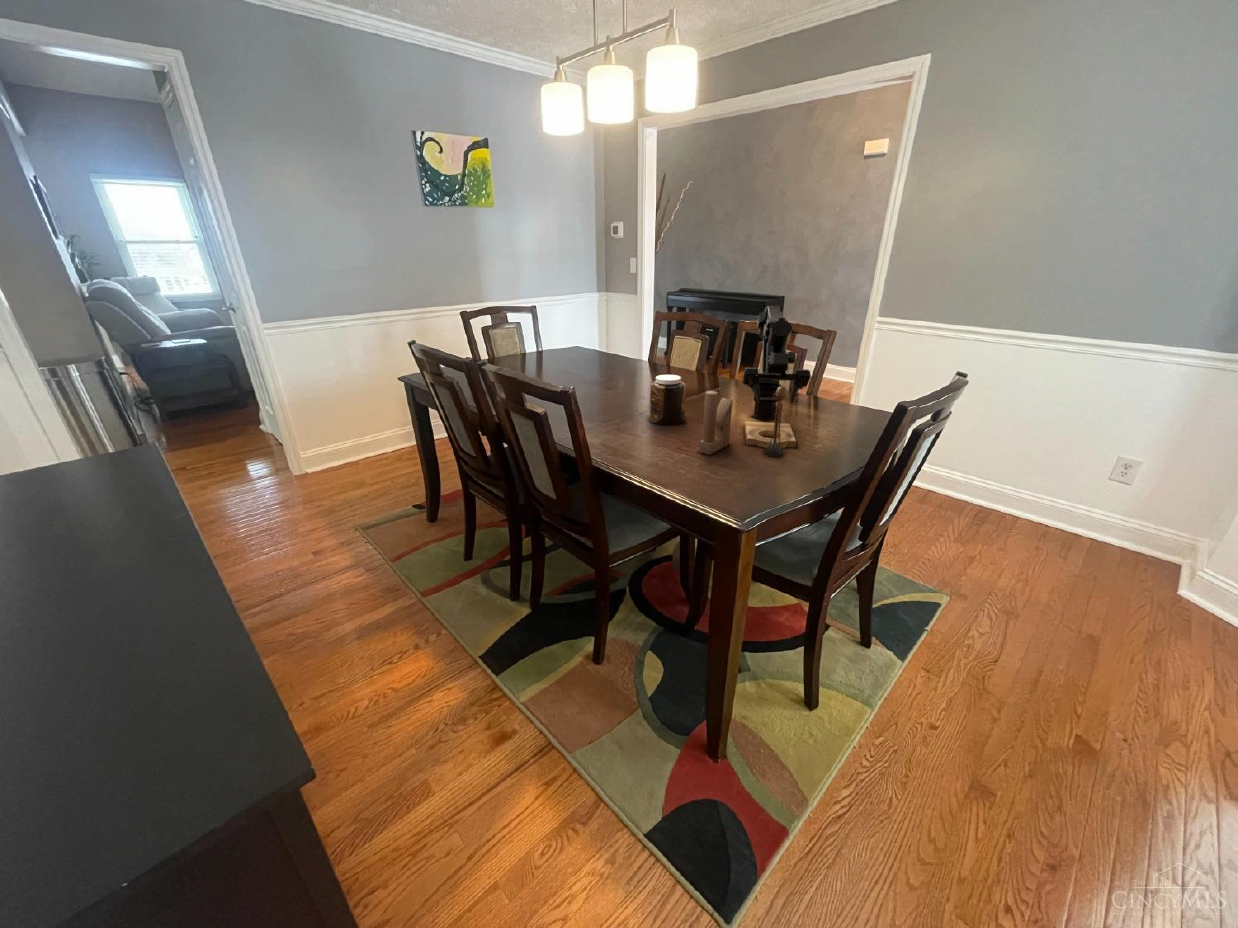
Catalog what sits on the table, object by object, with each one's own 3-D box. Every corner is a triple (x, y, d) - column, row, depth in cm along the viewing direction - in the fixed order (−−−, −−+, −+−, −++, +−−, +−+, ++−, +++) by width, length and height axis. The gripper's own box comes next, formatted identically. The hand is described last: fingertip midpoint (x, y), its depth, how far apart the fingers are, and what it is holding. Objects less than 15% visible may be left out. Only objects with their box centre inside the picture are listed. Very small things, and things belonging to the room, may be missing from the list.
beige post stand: (729, 445, 148) (734, 387, 141) (709, 455, 141) (713, 394, 134) (718, 442, 150) (722, 384, 143) (698, 452, 143) (702, 392, 136)
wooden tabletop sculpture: (774, 459, 138) (782, 390, 130) (759, 454, 141) (767, 387, 133) (785, 453, 142) (794, 386, 133) (770, 449, 145) (779, 383, 137)
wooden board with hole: (744, 427, 163) (745, 421, 162) (788, 429, 160) (789, 423, 159) (747, 446, 147) (747, 440, 146) (795, 449, 144) (796, 443, 144)
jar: (666, 427, 163) (667, 383, 157) (643, 419, 171) (643, 377, 165) (691, 420, 170) (693, 377, 163) (667, 412, 178) (668, 371, 172)
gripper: (747, 340, 142) (745, 387, 137) (814, 341, 139) (815, 389, 134) (743, 361, 153) (741, 405, 147) (806, 363, 149) (806, 408, 144)
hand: (775, 402), depth 143 cm, fingers open, 9 cm apart
